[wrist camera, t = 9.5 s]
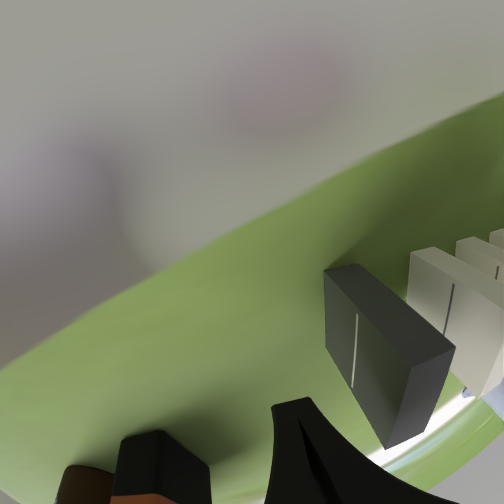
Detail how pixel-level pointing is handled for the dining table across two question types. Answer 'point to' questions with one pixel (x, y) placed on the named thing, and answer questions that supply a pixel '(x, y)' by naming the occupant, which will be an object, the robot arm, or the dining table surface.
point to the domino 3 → (481, 256)
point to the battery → (159, 473)
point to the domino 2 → (461, 314)
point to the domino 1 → (384, 353)
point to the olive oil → (85, 486)
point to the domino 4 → (497, 238)
